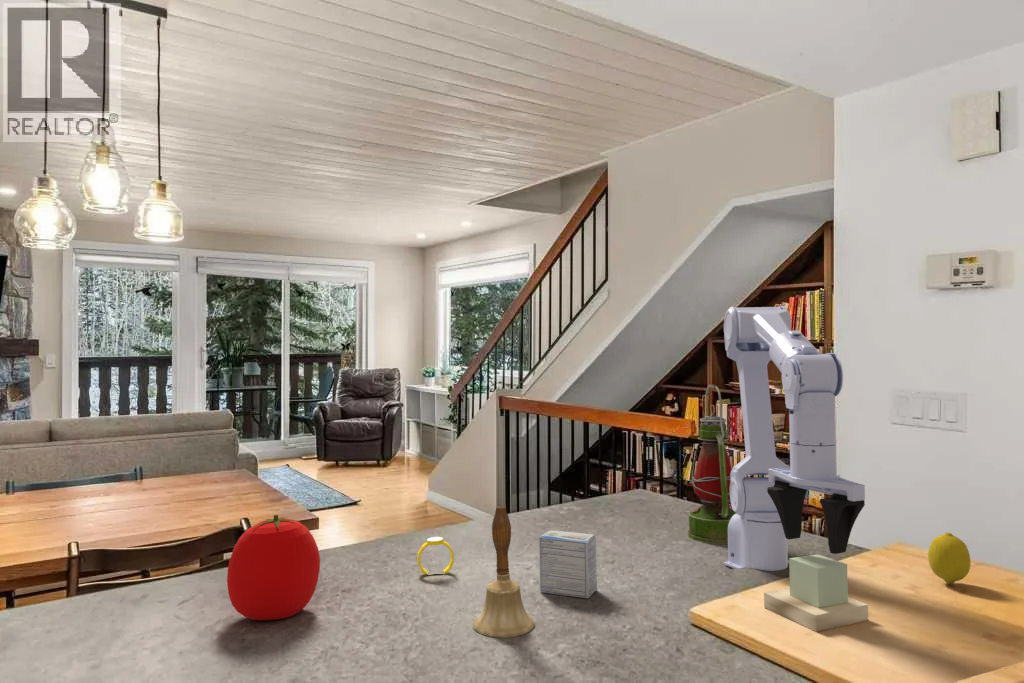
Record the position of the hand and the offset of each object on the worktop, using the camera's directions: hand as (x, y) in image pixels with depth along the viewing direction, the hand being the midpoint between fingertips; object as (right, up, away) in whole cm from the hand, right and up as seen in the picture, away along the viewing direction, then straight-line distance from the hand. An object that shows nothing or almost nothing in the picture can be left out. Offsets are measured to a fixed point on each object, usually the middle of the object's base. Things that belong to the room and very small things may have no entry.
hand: (814, 545), depth 93 cm
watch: (-53, -12, +23) cm, 59 cm away
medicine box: (-32, -11, +13) cm, 36 cm away
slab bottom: (0, -11, 0) cm, 11 cm away
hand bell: (-42, -11, 0) cm, 43 cm away
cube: (0, -7, -1) cm, 7 cm away
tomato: (-74, -12, +5) cm, 75 cm away
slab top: (0, -9, 0) cm, 9 cm away
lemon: (+27, -11, +14) cm, 33 cm away
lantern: (0, -12, +44) cm, 45 cm away
